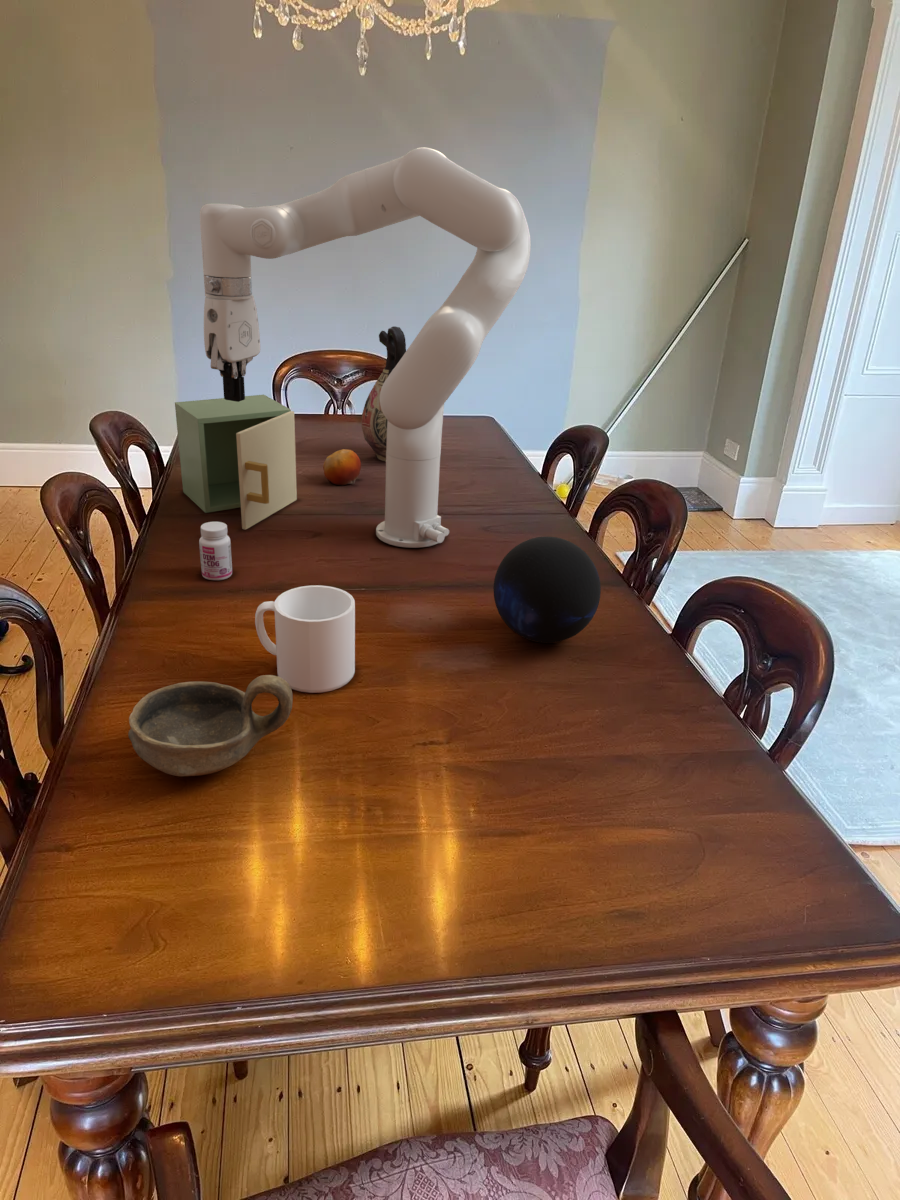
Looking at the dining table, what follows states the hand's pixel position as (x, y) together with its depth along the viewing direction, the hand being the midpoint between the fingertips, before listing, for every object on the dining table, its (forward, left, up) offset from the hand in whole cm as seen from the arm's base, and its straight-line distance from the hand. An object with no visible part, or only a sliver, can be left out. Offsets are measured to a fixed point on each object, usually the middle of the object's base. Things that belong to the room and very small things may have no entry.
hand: (234, 399), depth 144 cm
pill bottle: (-18, +15, -23) cm, 33 cm away
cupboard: (+12, -7, -23) cm, 27 cm away
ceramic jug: (+13, -49, -23) cm, 55 cm away
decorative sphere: (-64, -11, -23) cm, 68 cm away
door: (-2, -7, -22) cm, 24 cm away
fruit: (+7, -29, -23) cm, 37 cm away
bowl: (-59, +39, -23) cm, 74 cm away
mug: (-51, +21, -23) cm, 59 cm away
